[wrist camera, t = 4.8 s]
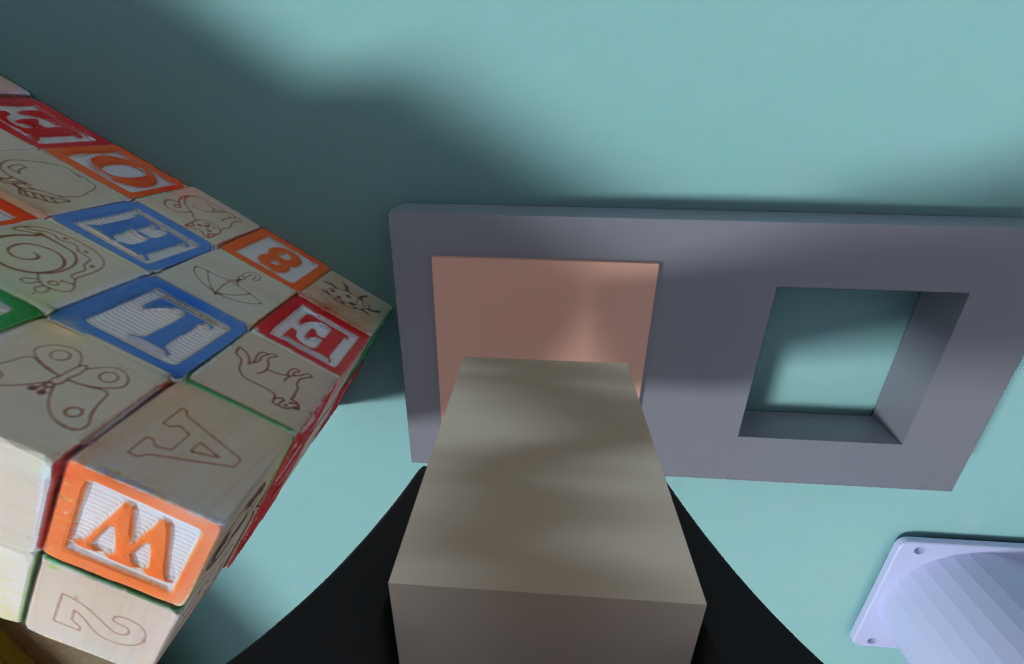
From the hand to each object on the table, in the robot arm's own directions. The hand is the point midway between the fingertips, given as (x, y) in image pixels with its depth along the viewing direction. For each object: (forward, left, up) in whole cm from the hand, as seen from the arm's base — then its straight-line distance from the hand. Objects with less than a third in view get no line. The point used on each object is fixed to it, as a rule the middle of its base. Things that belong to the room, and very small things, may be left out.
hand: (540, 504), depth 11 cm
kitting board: (-6, 0, -10) cm, 11 cm away
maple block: (0, 0, -3) cm, 3 cm away
